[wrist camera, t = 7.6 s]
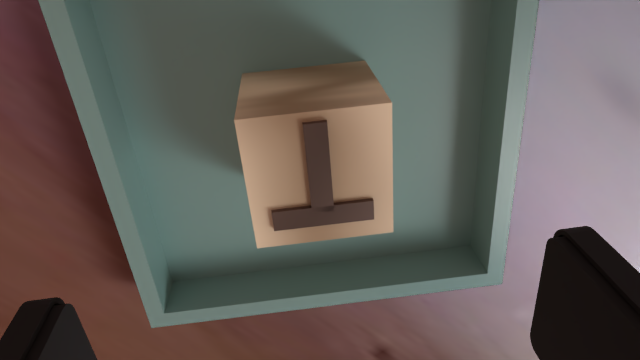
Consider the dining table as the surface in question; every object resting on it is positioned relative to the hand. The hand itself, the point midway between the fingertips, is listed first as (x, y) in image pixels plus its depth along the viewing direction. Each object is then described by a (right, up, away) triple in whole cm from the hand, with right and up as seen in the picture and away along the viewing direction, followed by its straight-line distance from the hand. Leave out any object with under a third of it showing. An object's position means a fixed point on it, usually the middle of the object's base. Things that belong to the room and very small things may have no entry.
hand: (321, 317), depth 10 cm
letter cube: (0, +5, +9) cm, 10 cm away
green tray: (-1, +5, +9) cm, 11 cm away
